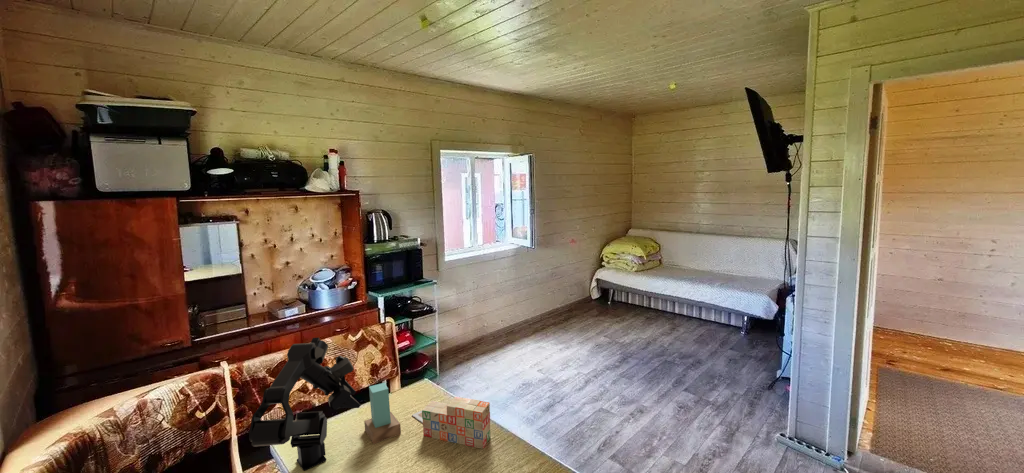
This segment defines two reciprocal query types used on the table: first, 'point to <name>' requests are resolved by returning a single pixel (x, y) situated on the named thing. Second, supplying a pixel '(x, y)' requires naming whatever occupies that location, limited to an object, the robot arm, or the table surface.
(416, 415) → the card
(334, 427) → the table surface
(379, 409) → the teal block
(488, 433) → the stack of blocks
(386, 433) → the walnut block
